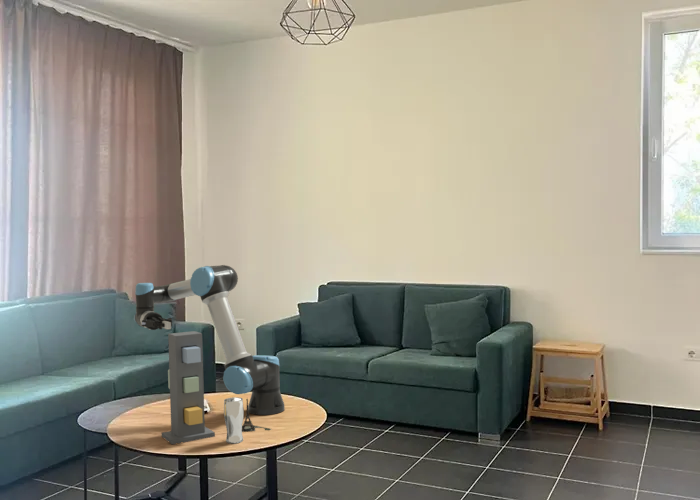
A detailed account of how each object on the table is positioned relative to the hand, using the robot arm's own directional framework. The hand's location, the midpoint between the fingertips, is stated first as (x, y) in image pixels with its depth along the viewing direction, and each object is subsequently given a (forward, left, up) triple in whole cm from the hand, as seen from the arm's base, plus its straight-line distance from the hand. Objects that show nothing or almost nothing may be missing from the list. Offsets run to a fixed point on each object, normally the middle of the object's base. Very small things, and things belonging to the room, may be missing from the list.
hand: (169, 325), depth 273 cm
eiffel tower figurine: (-33, +17, -39) cm, 54 cm away
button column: (-11, +24, -38) cm, 46 cm away
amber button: (-11, +24, -33) cm, 42 cm away
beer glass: (-29, +32, -38) cm, 58 cm away
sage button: (-10, +22, -22) cm, 32 cm away
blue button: (-11, +24, -11) cm, 29 cm away
